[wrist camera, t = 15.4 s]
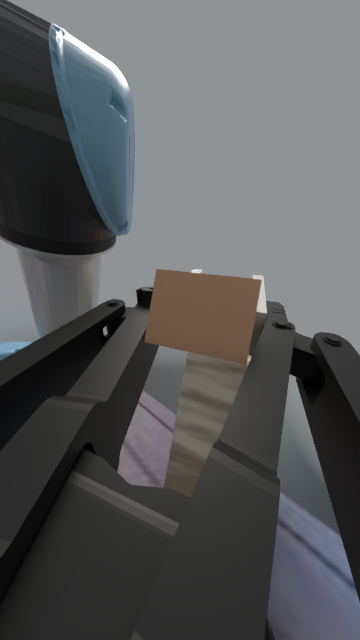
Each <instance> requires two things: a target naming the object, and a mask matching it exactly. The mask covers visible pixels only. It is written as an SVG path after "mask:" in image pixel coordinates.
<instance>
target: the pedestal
mask: <svg viewBox="0 0 360 640" xmlns="http://www.w3.org/2000/svg"><path fill="white" fill-rule="evenodd" d="M250 360H251V357H250V355H248V360H247V365H244V364H240V363H235V362H231V361H227V360H222V359H218V358H213V357H209V356H205V355H200V354H196V353H191V352H188V353H187V359H186V365H185V371H184V376H183V382H182V388H181V393H180V399H179V405H178V411H177V416H176V422H175V428H174V433H173V439H172V445H171V451H170V456H169V462H168V468H167V474H166V479H165V485H164V488H168V489H173V490H175V491H177V492H180V493H182V494H184V495H186V496H188V497H191V495H192V492H193V490H194V488H195V485H196V483H197V481H198V478H199V476H200V473H201V471H202V469H203V466H204V464H205V462H206V459H207V457H208V455H209V452H210V450H211V448H212V446H213V444H214V442H216V441H217V440H218V438H219V436H220V433H221V431H222V428H223V426H224V423H225V421H226V418H227V416H228V414H229V411H230V409H231V406H232V404H233V401H234V399H235V396H236V394H237V391H238V389H239V387H240V384H241V382H242V379H243V377H244V374H245V372H246V369H247V367H248V365H249V362H250Z"/></svg>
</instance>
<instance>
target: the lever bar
mask: <svg viewBox="0 0 360 640" xmlns="http://www.w3.org/2000/svg"><path fill="white" fill-rule="evenodd" d="M261 282H262V280H259V279H249V278H239V277H230V276H220V275H210V274H200V273H191V272H180V271H170V270H160V269H157V270H156V275H155V282H154V287H153V293H152V299H151V305H150V311H149V317H148V323H147V329H146V335H145V341H144V342H147V343H151V344H156V345H160V346H165V347H169V348H174V349H178V350H183V351H187V352H191V353H196V354H200V355H205V356H209V357H213V358H218V359H222V360H227V361H231V362H235V363H240V364H244V365H247V360H248V354H249V349H250V343H251V338H252V332H253V327H254V321H255V316H256V310H257V304H258V299H259V293H260V288H261Z"/></svg>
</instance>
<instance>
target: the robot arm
mask: <svg viewBox="0 0 360 640" xmlns="http://www.w3.org/2000/svg"><path fill="white" fill-rule="evenodd" d="M134 134H135V133H134V110H133V101H132V96H131V92H130V89H129V86H128V84H127V82H126V80H125V78H124V76H123V75H122V73H121V72H120V70H119V69H118V68H117V67H116V66H115V65H114V64H113V63H112V62H110V61H109V60H107V59H106V58H105V57H103V56H102V55H100V54H98V53H97V52H95V51H94V50H92V49H91V48H89V47H88V46H86V45H85V44H83V43H82V42H80V41H79V40H77V39H76V38H74V37H73V36H71V35H70V34H68V33H67V32H66V30H65V29H63V28H59V27H58V26H57V25H55V24H54V23H52V24H51V23H49V22H47V21H45V20H43V19H41V18H39V17H37V16H35V15H34V14H32V13H30V12H28V11H26V10H24V9H22V8H20V7H18V6H16V5H14V4H12V3H11V2H9V1H7V0H0V239H2V240H3V241H5V242H6V243H8V244H10V245H12V246H13V247H15V248H16V250H17V254H18V258H19V262H20V266H21V270H22V273H23V277H24V281H25V285H26V289H27V292H28V297H29V301H30V304H31V308H32V312H33V316H34V320H35V324H36V328H37V331H38V335H39V339H38V340H37V341H35V342H4V343H0V640H275V637H274V635H273V632H272V629H271V627H270V624H269V621H268V619H267V609H268V600H269V590H270V581H271V572H272V563H273V554H274V545H275V535H276V526H277V517H278V508H279V498H280V480H279V478H278V477H277V466H278V457H279V450H280V442H281V435H282V428H283V420H284V412H285V404H286V397H287V389H288V382H289V374H291V375H293V376H295V377H296V382H297V385H298V388H299V392H300V395H301V399H302V402H303V406H304V409H305V413H306V416H307V419H308V423H309V427H310V430H311V434H312V437H313V441H314V444H315V448H316V451H317V455H318V458H319V461H320V465H321V468H322V472H323V475H324V479H325V482H326V485H327V489H328V493H329V496H330V500H331V503H332V507H333V510H334V513H335V517H336V521H337V524H338V528H339V531H340V534H341V538H342V541H343V545H344V548H345V552H346V555H347V559H348V562H349V566H350V569H351V573H352V576H353V580H354V583H355V587H356V590H357V594H358V597H359V601H360V355H359V354H358V353H357V351H356V350H355V349H354V348H353V346H352V345H351V344H350V343H349V342H348V341H347V340H345V339H344V338H342V337H340V336H338V335H336V334H332V333H323V332H320V333H316V334H315V336H314V337H313V339H312V338H309V337H306V336H303V335H300V334H298V333H296V332H295V326H294V325H293V324H292V323H290V322H288V320H287V317H286V314H285V310H284V306H282V305H281V304H280V303H278V302H270V301H266V297H265V289H264V278H263V276H259V275H253V277H252V279H259V280H262V282H261V288H260V293H259V299H258V304H257V310H256V316H255V321H254V327H253V332H252V338H251V343H250V349H249V354H248V355H250V356H252V357H251V360H250V362H249V365H248V367H247V369H246V372H245V374H244V377H243V379H242V382H241V384H240V387H239V389H238V391H237V394H236V396H235V399H234V401H233V404H232V406H231V409H230V411H229V414H228V416H227V418H226V421H225V423H224V426H223V428H222V431H221V433H220V436H219V438H218V440H217V441H216V442H214V444H213V446H212V448H211V450H210V452H209V455H208V457H207V459H206V462H205V464H204V466H203V469H202V471H201V473H200V476H199V478H198V481H197V483H196V485H195V488H194V490H193V492H192V495H191V497H188V496H186V495H184V494H182V493H180V492H177V491H175V490H173V489H168V488H158V487H147V486H137V485H131V484H129V483H127V482H126V481H125V480H124V479H123V478H122V477H121V476H120V475H119V474H118V473H117V470H118V465H119V456H120V450H121V447H122V444H123V441H124V439H125V436H126V433H127V431H128V428H129V425H130V422H131V420H132V417H133V414H134V412H135V409H136V406H137V404H138V401H139V398H140V396H141V393H142V390H143V388H144V385H145V382H146V379H147V377H148V374H149V371H150V369H151V366H152V363H153V361H154V358H155V355H156V353H157V350H158V347H159V345H156V344H151V343H147V342H144V341H145V335H146V329H147V323H148V317H149V311H150V305H151V299H152V293H153V287H143V288H139V289H138V290H136V292H137V301H138V303H137V305H136V306H135V307H125V302H124V301H122V300H117V299H114V300H113V299H112V300H109V301H106V302H104V303H102V304H100V305H99V287H100V269H101V256H102V255H103V254H105V253H107V252H109V251H110V250H111V249H112V248H113V247H114V246H115V243H116V235H118V236H120V235H125V234H128V233H129V231H130V227H131V219H132V205H133V190H134V158H135V154H134V153H135V138H134V136H135V135H134ZM191 273H200V274H202V270H196V269H193V270H192V271H191ZM105 326H106V328H107V332H108V334H107V335H106V336H104V334H103V328H104V327H105Z"/></svg>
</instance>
